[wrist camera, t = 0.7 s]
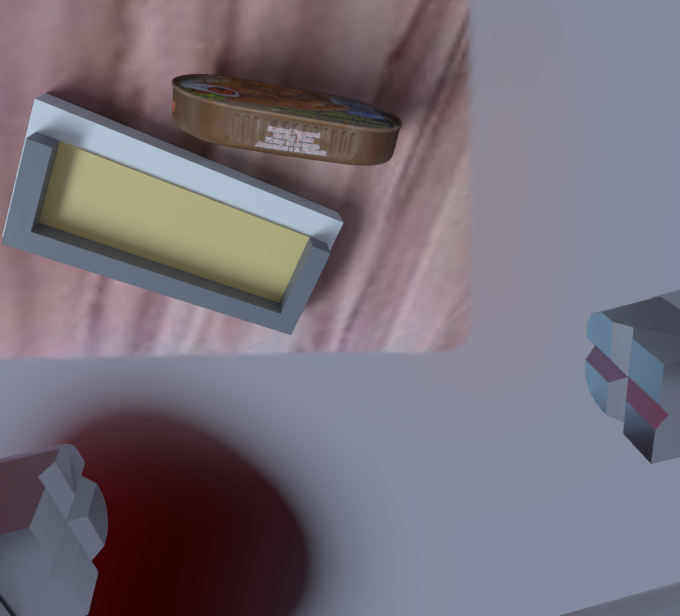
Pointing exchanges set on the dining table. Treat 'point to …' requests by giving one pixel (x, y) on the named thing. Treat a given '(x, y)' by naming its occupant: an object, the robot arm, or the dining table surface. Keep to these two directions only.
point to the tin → (283, 120)
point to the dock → (164, 218)
